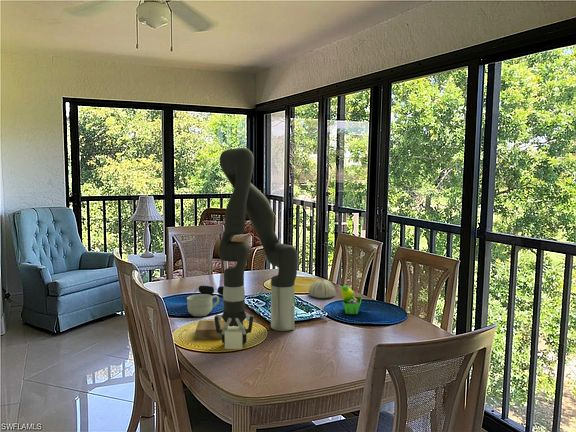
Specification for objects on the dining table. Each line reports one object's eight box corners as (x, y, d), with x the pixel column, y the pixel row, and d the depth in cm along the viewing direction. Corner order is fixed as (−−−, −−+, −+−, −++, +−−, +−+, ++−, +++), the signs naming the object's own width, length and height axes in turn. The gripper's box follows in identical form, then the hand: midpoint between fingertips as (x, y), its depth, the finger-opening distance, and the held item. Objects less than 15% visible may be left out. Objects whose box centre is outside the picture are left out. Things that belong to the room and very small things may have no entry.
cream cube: (243, 342, 170) (243, 326, 169) (241, 348, 164) (241, 332, 163) (226, 342, 170) (226, 326, 169) (224, 348, 164) (224, 332, 163)
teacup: (187, 319, 195) (187, 300, 194) (186, 311, 205) (185, 293, 204) (221, 316, 198) (221, 298, 197) (218, 309, 209) (218, 291, 208)
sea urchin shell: (326, 301, 222) (326, 284, 222) (302, 296, 230) (302, 280, 230) (340, 295, 233) (340, 279, 232) (317, 291, 241) (318, 275, 240)
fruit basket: (360, 315, 201) (360, 289, 200) (339, 314, 203) (339, 288, 202) (361, 307, 213) (362, 283, 211) (341, 306, 214) (342, 282, 213)
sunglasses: (233, 295, 233) (232, 285, 232) (227, 307, 219) (226, 297, 217) (199, 294, 234) (198, 285, 233) (190, 306, 220) (190, 296, 219)
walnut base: (225, 330, 183) (225, 320, 183) (223, 339, 173) (223, 329, 173) (199, 330, 182) (199, 320, 182) (195, 340, 173) (195, 329, 172)
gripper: (255, 294, 169) (255, 340, 171) (215, 294, 169) (215, 339, 171) (253, 300, 161) (253, 348, 163) (211, 300, 161) (212, 347, 163)
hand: (234, 343), depth 167 cm, fingers closed on cream cube, 6 cm apart
